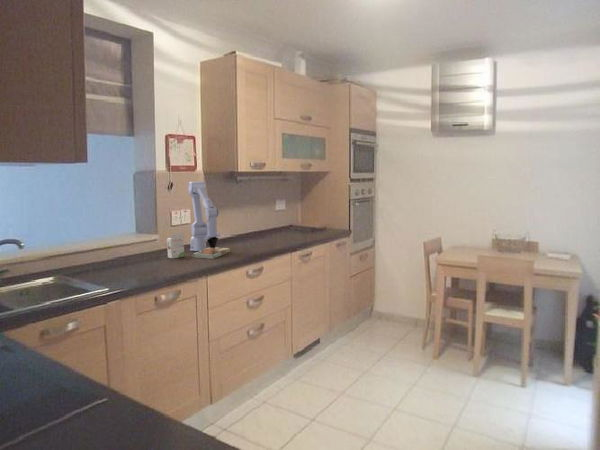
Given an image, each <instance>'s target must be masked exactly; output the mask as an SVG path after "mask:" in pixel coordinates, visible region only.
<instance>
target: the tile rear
mask: <svg viewBox="0 0 600 450" xmlns="http://www.w3.org/2000/svg"><path fill="white" fill-rule="evenodd" d="M214 251H215V248H210V246H209V247H206V248H205V249H204V252H210V253H211V252H214Z"/></svg>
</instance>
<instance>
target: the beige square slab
mask: <svg viewBox="0 0 600 450" xmlns="http://www.w3.org/2000/svg"><path fill="white" fill-rule="evenodd" d="M202 252H204V250H202ZM219 252H221V256H223V255H226V254H227V255H228V254H229V253H231V248H230V247H229V248H228V247H219V246H217V247H216V246H215V251H214V252H213V254H216V253H219ZM221 256H220V257H221Z"/></svg>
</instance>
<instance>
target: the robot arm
mask: <svg viewBox="0 0 600 450" xmlns="http://www.w3.org/2000/svg"><path fill="white" fill-rule="evenodd" d="M187 188H188V194H189V196H191V201H192V209H193V216H194V222H193V223H192V224H191V227H190V233H191V238H190V241H189V242H190V244H189V245H190V246H189V247H190V249H189V250H190V251H191V252H193V251H195V252H199V251H202V250H204V249H205V248H207V243H208V245H209V248H215V247H216V245H217V242H218V240H219V237H220V235H221V234H220V233H219V232H218V224H217V223H218V221H217V220H218V219H217V218H218V216H219V209H218V207H216V206H215V205H214V203H213V202H212V199H211V198H209V196H208V194H207V183H206V182H205V181H189V183H188V186H187ZM201 200H202V202H201ZM201 204H202V205H201ZM202 207H203V209H204V211H205V212H204V214H205V219H206V221H204V220H203V212H202Z"/></svg>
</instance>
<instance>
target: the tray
mask: <svg viewBox="0 0 600 450" xmlns="http://www.w3.org/2000/svg"><path fill="white" fill-rule="evenodd" d="M201 253H203V252H202V251H195V252H194V253H192V258H196V259H197V258H198V259H208V260H209V259H210V260H211V259H212V260H214V259H217V258H219V257H221V252H219V253H216V254H213V255H209V254H201Z"/></svg>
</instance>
